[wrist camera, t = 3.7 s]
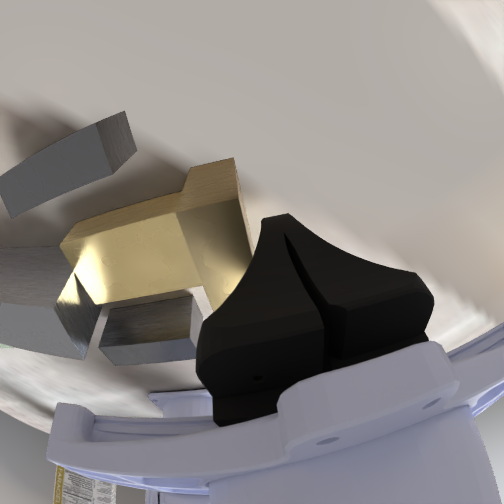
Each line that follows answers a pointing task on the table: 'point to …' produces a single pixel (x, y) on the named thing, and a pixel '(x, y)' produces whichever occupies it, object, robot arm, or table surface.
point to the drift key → (167, 241)
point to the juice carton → (81, 489)
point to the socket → (81, 173)
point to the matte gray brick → (44, 303)
